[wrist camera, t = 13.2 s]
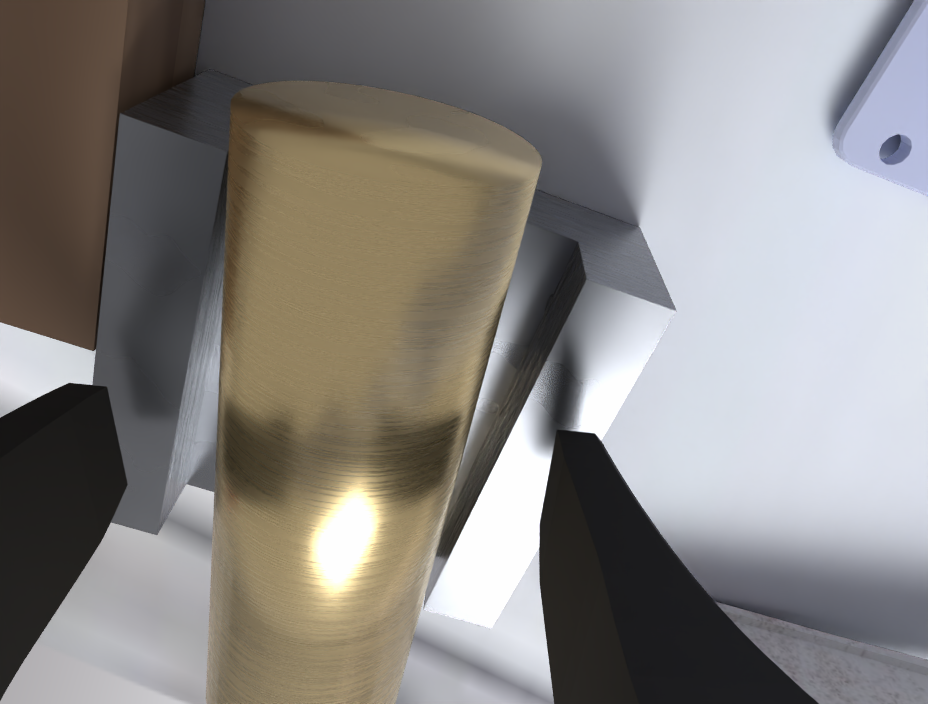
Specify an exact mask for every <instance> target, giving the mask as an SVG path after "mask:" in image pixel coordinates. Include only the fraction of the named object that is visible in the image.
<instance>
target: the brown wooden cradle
mask: <svg viewBox="0 0 928 704" xmlns="http://www.w3.org/2000/svg"><path fill="white" fill-rule="evenodd" d="M204 6H205V0H0V322H1V323H5V324H8V325H11V326H14V327H18V328H21V329H24V330H27V331H30V332H34V333H37V334H40V335H43V336H47V337H50V338H53V339H56V340H59V341H63V342H66V343H69V344H72V345H76V346H79V347H82V348H85V349H89V350H92V351H94V350H95V349H96V346H97V336H98V326H99V316H100V306H101V296H102V286H103V276H104V266H105V256H106V246H107V236H108V226H109V217H110V207H111V197H112V187H113V177H114V167H115V157H116V147H117V137H118V127H119V117H120V113H122V112H124V111H126V110H128V109H130V108H132V107H134V106H136V105H138V104H140V103H142V102H144V101H146V100H148V99H150V98H152V97H154V96H156V95H158V94H160V93H163V92H165V91H167V90H169V89H171V88H173V87H175V86H177V85H179V84H181V83H183V82H185V81H187V80H189V79H191V78H193V77H194V73H195V66H196V60H197V53H198V46H199V40H200V33H201V26H202V20H203V13H204Z"/></svg>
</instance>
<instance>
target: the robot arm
mask: <svg viewBox="0 0 928 704" xmlns="http://www.w3.org/2000/svg"><path fill="white" fill-rule="evenodd" d="M897 134H899V135H900V137H901V143H900V146H899V148H898V150H897V151H896V152H895V153H894V154H893V155H892V156H889V157H887V158H884V159H881V158H880V155H879V151H880V149H881V146H882V144H883V143H884V142H885V141H886V140H887V139H888V138H890V137H892V136H895V135H897ZM833 149H834V151H835V153H836V155H837V156H838V157H840V158H841V159H843V160H844V161H845V162H847V163H848V164H850V165H851V166H853V167H856V168H858V169H861V170H863V171H866V172H868V173H871V174H873V175H876V176H878V177H881V178H883V179H886V180H888V181H891V182H893V183H896V184H898V185H901V186H903V187H906V188H908V189H911V190H913V191H916V192H918V193H921V194H923V195H926V196H928V0H914V1H913V3H912V5H911V6H910V8H909V10H908V11H907V13H906V14H905V16H904V18H903V19H902V21H901V22H900V24H899V26H898V27H897V29H896V30H895V32H894V34H893V35H892V37H891V39H890V40H889V42H888V43H887V45H886V47H885V48H884V50H883V51H882V53H881V55H880V56H879V58H878V59H877V61H876V63H875V64H874V66H873V68H872V69H871V71H870V72H869V74H868V76H867V77H866V79H865V80H864V82H863V84H862V85H861V87H860V89H859V90H858V92H857V93H856V95H855V97H854V98H853V100H852V101H851V103H850V105H849V106H848V108H847V109H846V111H845V113H844V114H843V116H842V118H841V119H840V121H839V122H838V124H837V126H836V129H835V131H834V133H833ZM127 485H128V483H127V478H126V474H125V469H124V464H123V459H122V455H121V450H120V445H119V440H118V436H117V431H116V426H115V421H114V417H113V412H112V407H111V403H110V398H109V393H108V388H107V387H106V386H95V385H85V384H74V383H68V384H66V385H64V386H62V387H59V388H57V389H55V390H53V391H51V392H49V393H47V394H45V395H43V396H41V397H39V398H37V399H35V400H33V401H31V402H29V403H27V404H25V405H23V406H21V407H20V408H18V409H16V410H14V411H12V412H10V413H8V414H6V415H5V416H3V417H1V418H0V700H1V698H2V696H3V694H4V693H5V691H6V689H7V687H8V686H9V684H10V683H11V681H12V679H13V678H14V676H15V674H16V672H17V671H18V669H19V668H20V666H21V664H22V663H23V661H24V659H25V658H26V657H27V655H28V654H29V652H30V651H31V649H32V647H33V646H34V644H35V643H36V641H37V640H38V638H39V637H40V635H41V634H42V632H43V631H44V629H45V628H46V626H47V625H48V623H49V621H50V620H51V618H52V617H53V615H54V614H55V612H56V611H57V609H58V608H59V606H60V605H61V603H62V602H63V600H64V599H65V597H66V596H67V594H68V592H69V591H70V589H71V588H72V586H73V585H74V583H75V582H76V580H77V579H78V577H79V575H80V574H81V572H82V571H83V569H84V568H85V566H86V565H87V563H88V561H89V560H90V558H91V557H92V555H93V554H94V552H95V550H96V549H97V547H98V546H99V544H100V542H101V541H102V539H103V537H104V535H105V533H106V531H107V529H108V527H109V525H110V523H111V521H112V519H113V517H114V514H115V512H116V510H117V508H118V505H119V503H120V501H121V499H122V496H123V494H124V492H125V490H126V487H127ZM539 562H540V589H541V598H542V606H543V614H544V623H545V631H546V639H547V648H548V656H549V664H550V672H551V680H552V688H553V697H554V704H819V703H818V702H817V701H816V700H814V699H813V698H812V697H811V696H810V695H809V694H808V693H806V692H805V691H804V690H803V689H802V688H801V687H800V686H799V685H798V684H796V683H795V682H794V681H793V680H792V679H791V678H790V677H789V676H788V675H787V674H786V673H785V672H784V671H783V670H781V669H780V668H779V667H778V666H777V665H776V664H775V663H774V662H773V661H772V660H771V659H770V658H769V657H768V656H766V655H765V654H764V653H763V652H762V651H761V650H760V649H759V648H758V647H757V646H756V645H755V644H754V643H753V642H752V641H751V640H750V639H749V638H748V637H747V636H746V635H745V634H744V633H743V632H742V631H741V630H740V629H739V628H738V627H737V626H736V624H735V623H734V622H733V621H732V620H731V619H730V618H729V617H728V616H727V615H726V614H725V613H724V611H723V610H722V609H721V608H720V607H719V606H718V605H717V604H716V603H715V602H714V600H713V599H712V598H711V597H710V596H709V595H708V594H707V592H706V591H705V590H704V589H703V588H702V586H701V585H700V584H699V583H698V582H697V580H696V579H695V578H694V577H693V576H692V574H691V573H690V572H689V570H688V569H687V568H686V567H685V565H684V564H683V563H682V562H681V560H680V559H679V558H678V556H677V555H676V554H675V553H674V551H673V550H672V549H671V547H670V546H669V545H668V543H667V542H666V541H665V539H664V538H663V537H662V535H661V534H660V532H659V531H658V529H657V528H656V527H655V525H654V524H653V522H652V521H651V519H650V518H649V517H648V515H647V514H646V512H645V511H644V509H643V508H642V507H641V505H640V504H639V502H638V500H637V499H636V497H635V496H634V494H633V493H632V491H631V490H630V488H629V487H628V485H627V483H626V482H625V480H624V479H623V477H622V475H621V474H620V472H619V471H618V469H617V467H616V466H615V464H614V462H613V461H612V459H611V457H610V455H609V454H608V452H607V450H606V449H605V447H604V445H603V443H602V442H601V440H600V439H599V437H598V436H597V435H596V434H595V433H589V432H578V431H568V430H557V431H556V437H555V442H554V448H553V453H552V459H551V464H550V469H549V475H548V480H547V486H546V491H545V497H544V502H543V507H542V513H541V518H540V524H539Z"/></svg>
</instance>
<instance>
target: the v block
mask: <svg viewBox="0 0 928 704" xmlns="http://www.w3.org/2000/svg"><path fill="white" fill-rule="evenodd" d="M250 86H253V85H251V84H249V83H246V82H243V81H241V80H238V79H235V78H232V77H230V76H227V75H224V74H222V73H219V72H216V71H213V70H211V69H209V70H207V71H205V72H203V73H201V74H199V75H197V76H195V77H193V78H191V79H189V80H187V81H185V82H183V83H181V84H179V85H177V86H175V87H173V88H171V89H169V90H167V91H165V92H163V93H160V94H158V95H156V96H154V97H152V98H150V99H148V100H146V101H144V102H142V103H140V104H138V105H136V106H134V107H132V108H130V109H128V110H126V111H124V112H122V113H120V117H119V127H118V137H117V147H116V157H115V167H114V177H113V187H112V197H111V207H110V217H109V226H108V236H107V246H106V256H105V266H104V276H103V286H102V296H101V306H100V316H99V326H98V336H97V346H96V356H95V365H94V375H93V385H95V386H106V387H107V388H108V393H109V398H110V403H111V407H112V412H113V417H114V421H115V426H116V431H117V436H118V440H119V445H120V450H121V455H122V459H123V464H124V469H125V474H126V478H127V483H128V485H127V487H126V490H125V492H124V494H123V496H122V499H121V501H120V503H119V505H118V508H117V510H116V512H115V514H114V517H113V519H112V521H111V522H112V523H115V524H119V525H123V526H126V527H130V528H133V529H137V530H140V531H144V532H148V533H151V534H155V535H157V534H158V533H159V531H160V529H161V527H162V526H163V524H164V522H165V520H166V519H167V517H168V515H169V513H170V512H171V510H172V508H173V506H174V505H175V503H176V501H177V499H178V497H179V496H180V494H181V492H182V490H183V489H184V487H185V485H186V484H189V485H192V486H195V487H199V488H202V489H206V490H209V491H213V492H215V468H216V444H217V420H218V396H219V371H220V347H221V323H222V299H223V275H224V251H225V227H226V203H227V179H228V155H229V130H230V106H231V99H232V97H233V96H234V95H235V94H236V93H237V92H239V91H240V90H242V89H244V88H247V87H250ZM675 313H676V309H675V306H674V304H673V302H672V299H671V297H670V295H669V293H668V290H667V288H666V286H665V284H664V281H663V279H662V277H661V274H660V272H659V270H658V268H657V265H656V263H655V261H654V259H653V256H652V254H651V252H650V249H649V247H648V245H647V243H646V240H645V238H644V236H643V233H642V231H641V229H640V228H639V227H636V226H634V225H631V224H628V223H625V222H623V221H620V220H617V219H615V218H612V217H609V216H606V215H604V214H601V213H598V212H596V211H593V210H590V209H587V208H585V207H582V206H579V205H577V204H574V203H571V202H568V201H566V200H563V199H560V198H558V197H555V196H552V195H549V194H547V193H544V192H541V191H539V190H536V189H535V192H534V196H533V200H532V203H531V207H530V211H529V214H528V218H527V222H526V225H525V229H524V233H523V236H522V240H521V244H520V247H519V251H518V255H517V258H516V262H515V266H514V269H513V273H512V277H511V280H510V284H509V288H508V291H507V295H506V299H505V302H504V306H503V310H502V313H501V317H500V321H499V324H498V328H497V332H496V335H495V339H494V343H493V346H492V350H491V354H490V357H489V361H488V365H487V368H486V372H485V376H484V379H483V383H482V387H481V390H480V394H479V398H478V401H477V405H476V409H475V412H474V416H473V420H472V424H471V427H470V431H469V435H468V438H467V442H466V446H465V449H464V453H463V457H462V460H461V464H460V468H459V471H458V475H457V479H456V482H455V486H454V490H453V493H452V497H451V501H450V504H449V508H448V512H447V515H446V519H445V523H444V526H443V530H442V534H441V537H440V541H439V545H438V548H437V552H436V556H435V559H434V563H433V567H432V570H431V574H430V578H429V581H428V585H427V589H426V592H425V601H424V609H423V610H427V611H430V612H434V613H437V614H441V615H444V616H448V617H452V618H455V619H459V620H462V621H466V622H469V623H473V624H477V625H480V626H484V627H487V628H491V629H492V627H493V625H494V624H495V622H496V620H497V619H498V617H499V615H500V613H501V612H502V610H503V608H504V607H505V605H506V603H507V601H508V600H509V598H510V596H511V594H512V593H513V591H514V589H515V588H516V586H517V584H518V582H519V581H520V579H521V577H522V576H523V574H524V572H525V570H526V569H527V567H528V565H529V564H530V562H531V560H532V558H533V557H534V555H535V553H536V552H537V550H538V548H539V524H540V518H541V513H542V507H543V502H544V497H545V491H546V486H547V480H548V475H549V469H550V464H551V459H552V453H553V448H554V442H555V437H556V431H557V430H568V431H578V432H589V433H595V434H596V435H597V436H598V437H599V439H600V440H602V438H603V437H604V435H605V433H606V431H607V430H608V428H609V426H610V425H611V423H612V421H613V419H614V418H615V416H616V414H617V413H618V411H619V409H620V407H621V406H622V404H623V402H624V401H625V399H626V397H627V395H628V394H629V392H630V390H631V389H632V387H633V385H634V383H635V382H636V380H637V378H638V377H639V375H640V373H641V371H642V370H643V368H644V366H645V365H646V363H647V361H648V359H649V358H650V356H651V354H652V353H653V351H654V349H655V347H656V346H657V344H658V342H659V341H660V339H661V337H662V335H663V334H664V332H665V330H666V329H667V327H668V325H669V323H670V322H671V320H672V318H673V317H674V315H675Z"/></svg>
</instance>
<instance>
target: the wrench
mask: <svg viewBox="0 0 928 704" xmlns="http://www.w3.org/2000/svg"><path fill="white" fill-rule="evenodd" d="M714 602H715V601H714ZM715 603H716V604H717V605H718V606H719V607H720V608H721V609H722V610H723V611H724V613H725V614H726V615H727V616H728V617H729V618H730V619H731V620H732V621H733V622H734V623H735V624H736V626H737V627H738V628H739V629H740V630H741V631H742V632H743V633H744V634H745V635H746V636H747V637H748V638H749V639H750V640H751V641H752V642H753V643H754V644H755V645H756V646H757V647H758V648H759V649H760V650H761V651H762V652H763V653H764V654H765V655H766V656H768V657H769V658H770V659H771V660H772V661H773V662H774V663H775V664H776V665H777V666H778V667H779V668H780V669H781V670H783V671H784V672H785V673H786V674H787V675H788V676H789V677H790V678H791V679H792V680H793V681H794V682H795V683H796V684H798V685H799V686H800V687H801V688H802V689H803V690H804V691H805V692H806V693H808V694H809V695H810V696H811V697H812V698H813V699H814V700H816V701H817V702H818V703H819V704H928V660H926V659H922V658H919V657H915V656H911V655H907V654H904V653H900V652H896V651H892V650H889V649H885V648H881V647H877V646H874V645H870V644H866V643H862V642H859V641H855V640H851V639H848V638H844V637H840V636H836V635H833V634H829V633H825V632H822V631H818V630H815V629H811V628H807V627H804V626H800V625H797V624H793V623H790V622H786V621H783V620H779V619H776V618H772V617H768V616H765V615H761V614H758V613H754V612H751V611H747V610H744V609H740V608H736V607H733V606H729V605H726V604H722V603H719V602H715Z"/></svg>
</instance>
